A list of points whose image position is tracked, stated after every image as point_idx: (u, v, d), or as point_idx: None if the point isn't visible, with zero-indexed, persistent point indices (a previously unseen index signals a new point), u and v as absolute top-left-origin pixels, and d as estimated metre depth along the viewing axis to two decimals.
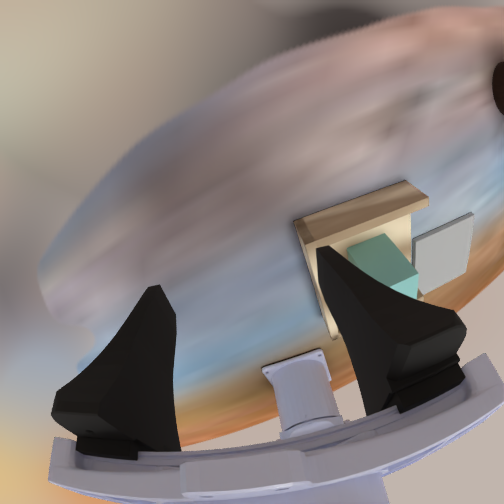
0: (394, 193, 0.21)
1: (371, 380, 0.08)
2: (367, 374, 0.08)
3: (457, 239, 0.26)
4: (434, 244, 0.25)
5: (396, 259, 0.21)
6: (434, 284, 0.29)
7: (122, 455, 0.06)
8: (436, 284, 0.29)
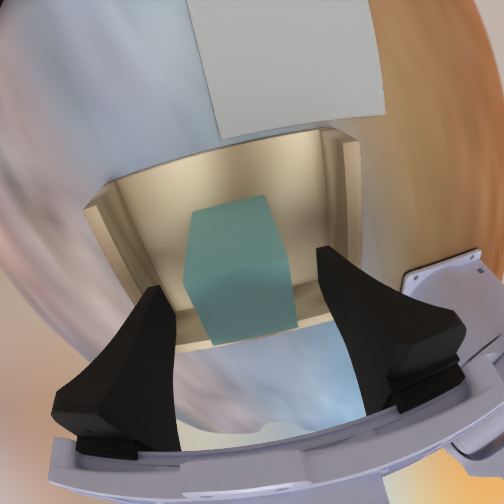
0: None
1: (371, 380, 0.08)
2: (367, 374, 0.08)
3: (243, 12, 0.09)
4: (239, 84, 0.12)
5: None
6: (364, 57, 0.11)
7: (122, 455, 0.06)
8: (365, 53, 0.11)
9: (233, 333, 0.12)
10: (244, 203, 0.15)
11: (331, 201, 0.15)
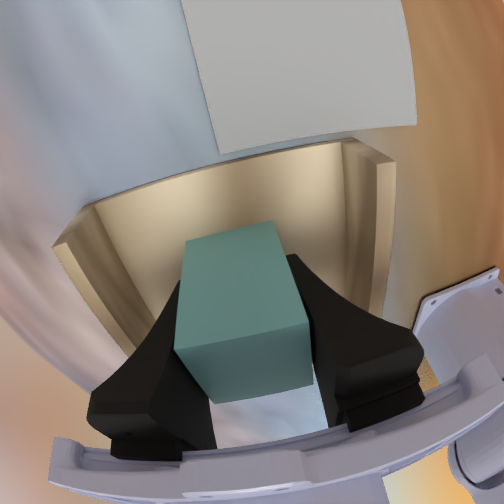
0: None
1: (327, 394, 0.08)
2: (324, 387, 0.08)
3: None
4: (242, 83, 0.09)
5: None
6: (395, 55, 0.09)
7: (122, 455, 0.06)
8: (396, 50, 0.08)
9: (237, 393, 0.10)
10: (249, 232, 0.12)
11: (352, 228, 0.12)
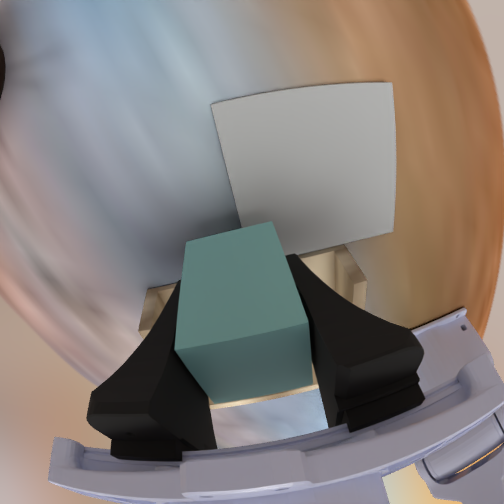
0: None
1: (326, 394, 0.08)
2: (324, 387, 0.08)
3: (274, 148, 0.13)
4: (269, 221, 0.15)
5: None
6: (382, 185, 0.14)
7: (122, 455, 0.06)
8: (384, 180, 0.14)
9: (238, 393, 0.10)
10: (249, 232, 0.12)
11: None
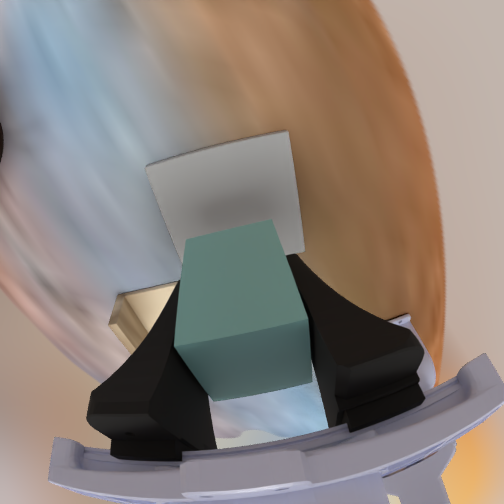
0: None
1: (327, 394, 0.08)
2: (324, 387, 0.08)
3: (192, 195, 0.18)
4: None
5: None
6: (287, 215, 0.19)
7: (122, 455, 0.06)
8: (288, 211, 0.19)
9: (237, 391, 0.10)
10: (248, 230, 0.12)
11: None
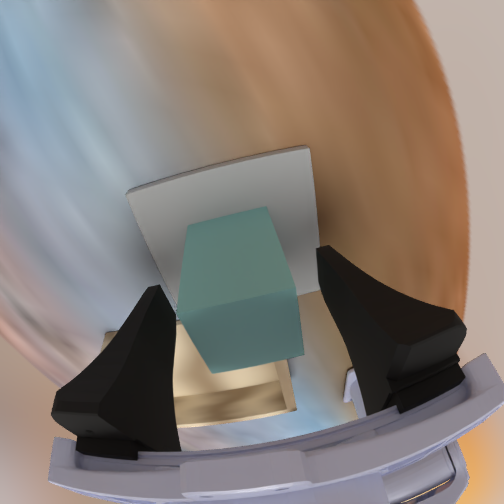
0: None
1: (371, 379, 0.08)
2: (367, 374, 0.08)
3: None
4: None
5: None
6: (304, 251, 0.16)
7: (122, 455, 0.06)
8: (306, 246, 0.16)
9: (234, 362, 0.11)
10: (245, 216, 0.14)
11: None
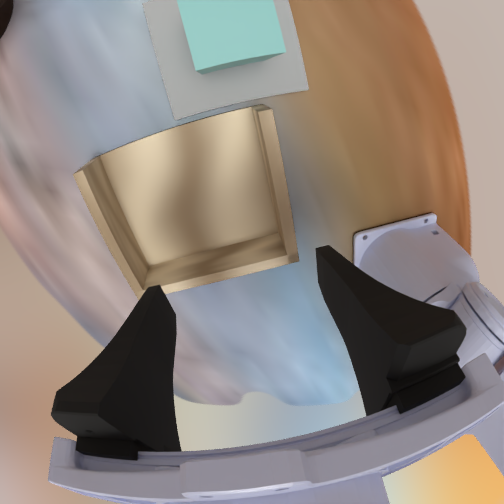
0: None
1: (371, 379, 0.08)
2: (367, 374, 0.08)
3: None
4: (186, 78, 0.15)
5: None
6: (286, 46, 0.14)
7: (122, 455, 0.06)
8: (287, 42, 0.14)
9: (218, 52, 0.10)
10: None
11: (265, 163, 0.18)
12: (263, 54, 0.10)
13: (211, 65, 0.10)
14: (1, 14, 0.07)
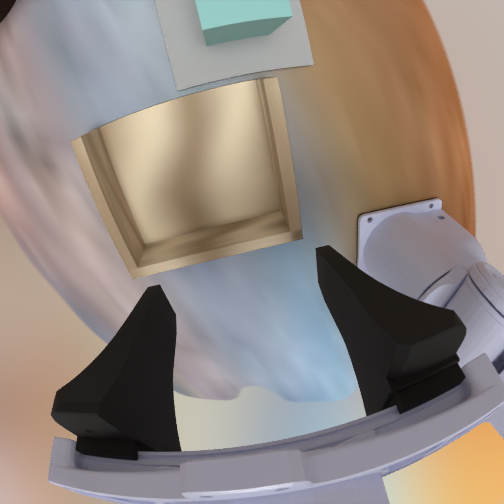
0: None
1: (371, 379, 0.08)
2: (367, 374, 0.08)
3: None
4: (190, 49, 0.14)
5: None
6: (291, 22, 0.14)
7: (122, 455, 0.06)
8: (292, 18, 0.13)
9: (225, 13, 0.09)
10: None
11: (268, 135, 0.17)
12: (270, 17, 0.09)
13: (218, 25, 0.09)
14: None
